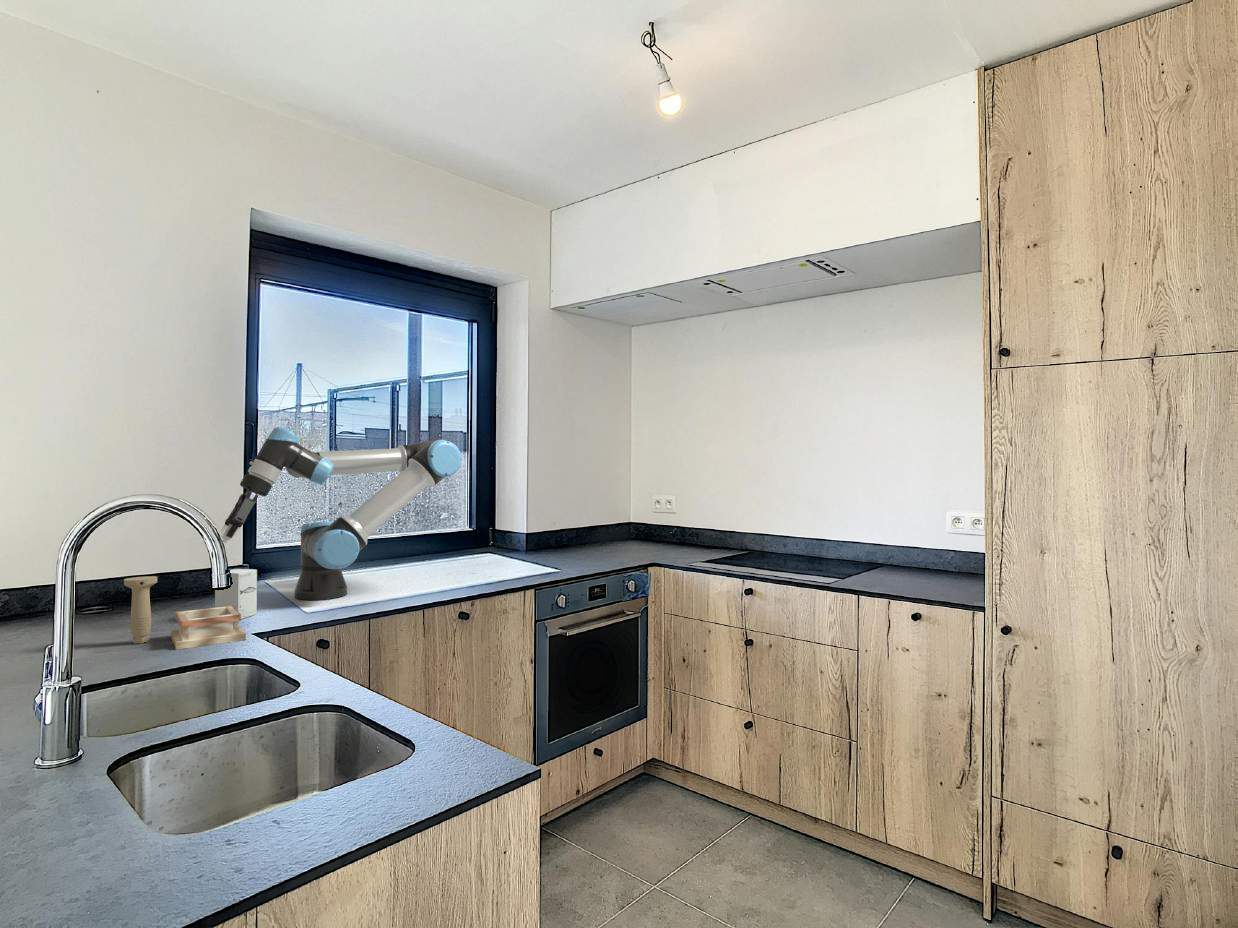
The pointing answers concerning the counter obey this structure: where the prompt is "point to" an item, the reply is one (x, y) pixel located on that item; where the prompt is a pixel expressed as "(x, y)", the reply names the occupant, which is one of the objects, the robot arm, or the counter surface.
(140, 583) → the handle
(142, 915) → the counter surface
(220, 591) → the supplement box
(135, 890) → the counter surface
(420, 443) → the robot arm
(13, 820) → the counter surface
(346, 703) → the counter surface
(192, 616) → the board
